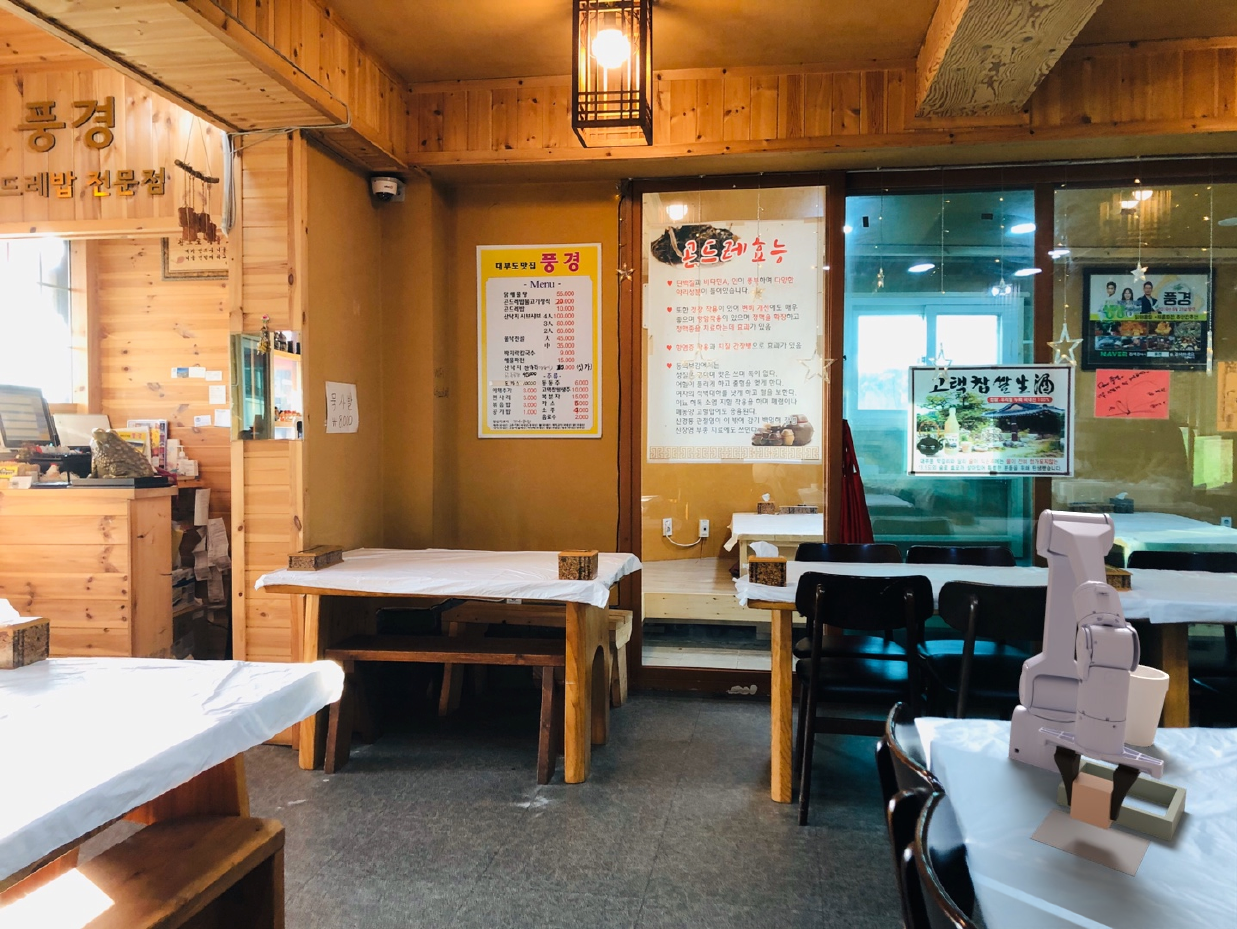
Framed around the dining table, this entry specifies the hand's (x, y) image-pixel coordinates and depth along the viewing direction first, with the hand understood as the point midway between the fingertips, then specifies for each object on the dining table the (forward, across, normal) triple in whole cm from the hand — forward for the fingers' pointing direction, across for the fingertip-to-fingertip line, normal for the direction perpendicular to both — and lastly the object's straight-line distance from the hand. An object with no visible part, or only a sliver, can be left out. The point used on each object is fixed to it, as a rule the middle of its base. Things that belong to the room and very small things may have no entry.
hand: (1092, 810), depth 106 cm
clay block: (+1, 0, 0) cm, 1 cm away
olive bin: (+5, +1, +15) cm, 16 cm away
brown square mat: (+5, 0, 0) cm, 5 cm away
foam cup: (+5, -3, +49) cm, 49 cm away
